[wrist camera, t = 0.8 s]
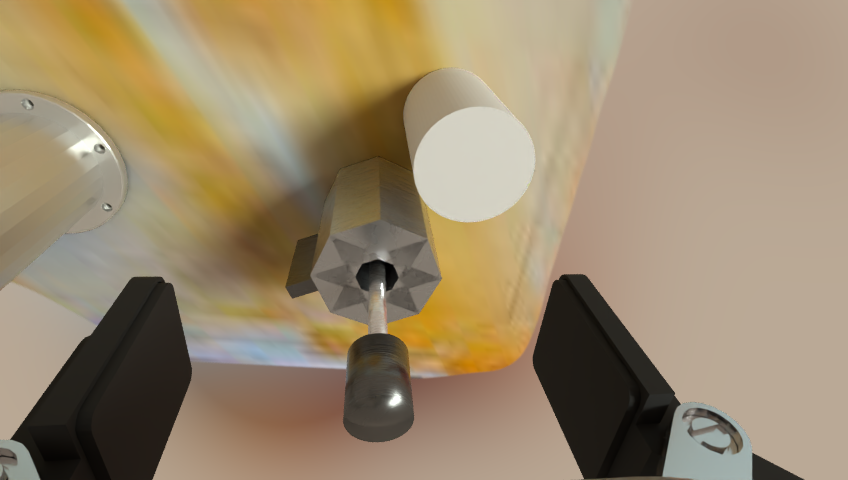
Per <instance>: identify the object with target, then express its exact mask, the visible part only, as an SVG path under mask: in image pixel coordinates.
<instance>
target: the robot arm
mask: <svg viewBox="0 0 848 480" xmlns="http://www.w3.org/2000/svg"><path fill="white" fill-rule="evenodd" d="M103 146H104V147H103ZM127 190H128V177H127V172H126V167H125V164H124V162H123V159H122V157H121V154H120V152H119V151H118V149H117V147H116V146H115V144H114V143H113V141H112V140H111V138H110V137H109V136H108V135H107V134H106V133H105V132H104V130H103V129H102V128H101V127H100V126H99V125H98V124H96V123H95V122H94V121H93V120H92V119H91V118H89V117H88V116H87V115H86V114H84V113H83V112H81V111H79V110H78V109H76V108H75V107H73V106H72V105H70V104H67V103H65V102H63V101H61V100H59V99H57V98H55V97H51V96H48V95H45V94H41V93H38V92H32V91H25V90H3V91H0V290H2V289H3V288H4V287H5V286H6V285H7V284H8V283H10V282H11V281H12V280H13V279H14V278H15V277H16V276H17V275H18V274H20V273H21V272H22V271H23V270H24V269H25V268H26V267H27V266H29V265H30V264H31V263H32V262H33V261H34V260H35V259H36V258H38V257H39V256H40V255H41V254H42V253H43V252H44V251H45V250H46V249H48V248H49V247H50V246H51V245H52V244H53V243H54V242H55V241H57V240H58V239H59V238H60V237H61V236H62V235H63V234H70V233H81V232H85V231H90V230H93V229H95V228H97V227H99V226H101V225H103V224H104V223H106V222H107V221H108V220H110V219H111V218H112V217H113V216H114V215H115V214H116V213H117V212H118V211H119V209H120V208H121V206H122V204H123V202H124V201H125V197H126V194H127ZM533 366H534V369H535V371H536V374H537V376H538V378H539V380H540V382H541V385H542V387H543V389H544V391H545V394H546V396H547V398H548V400H549V402H550V404H551V407H552V409H553V411H554V413H555V416H556V418H557V420H558V422H559V424H560V427H561V429H562V431H563V433H564V435H565V438H566V440H567V442H568V444H569V446H570V449H571V451H572V453H573V455H574V458H575V460H576V462H577V464H578V466H579V469H580V471H581V473H582V475H583V477H584V479H583V480H804V479H802V478H800V477H798V476H796V475H794V474H792V473H790V472H788V471H786V470H784V469H783V468H781V467H779V466H777V465H774V464H773V463H771V462H769V461H767V460H765V459H763V458H761V457H759V456H757V455H755V454H754V453H752V446H751V442H750V439H749V437H748V435H747V434H746V432H745V430H744V429H743V428H742V427H741V426H740V425H739V424H738V423H737V422H736V421H735V420H734V419H732V418H731V417H730V416H728V415H727V414H726V413H724V412H722V411H720V410H718V409H717V408H715V407H712V406H709V405H706V404H703V403H697V402H688V403H683V404H680V403H679V401H678V400H677V399H676V397H675V396H674V395H675V392H674V391H673V390H672V388H671V387H670V386H669V385H668V383H667V382H666V380H665V379H664V378H663V377H662V375H661V374H660V373H659V371H658V370H657V369H656V367H655V366H654V365H653V364H652V362H651V361H650V359H649V358H648V357H647V355H646V354H645V353H644V351H643V350H642V349H641V348H640V346H639V345H638V343H637V342H636V341H635V340H634V338H633V337H632V336H631V334H630V333H629V332H628V330H627V329H626V328H625V326H624V325H623V324H622V322H621V321H620V320H619V318H618V317H617V316H616V315H615V313H614V312H613V311H612V309H611V308H610V306H608V304H607V302H606V301H605V300H604V299H603V297H602V296H601V295H600V293H599V292H598V291H597V289H596V288H595V287H594V285H593V284H592V283H591V281H590V280H589V279H588V277H587V276H585V275H583V274H570V275H569V274H568V275H567V274H566V275H565V274H564V275H562V276H561V277H560V278H559V280H555V281H554V282H553V285H552V288H551V292H550V296H549V299H548V303H547V306H546V310H545V314H544V317H543V321H542V325H541V328H540V332H539V336H538V339H537V343H536V346H535V350H534V354H533ZM191 374H192V368H191V362H190V358H189V354H188V349H187V345H186V340H185V336H184V332H183V327H182V323H181V319H180V314H179V310H178V305H177V301H176V297H175V292H174V288H173V285H172V284H171V283H165V281H164V279H163V278H162V277H133V278H131V280H130V281H129V282H128V283H127V285H126V286H125V288H124V289H123V291H122V292H121V293H120V295H119V296H118V298H117V299H116V300H115V302H114V303H113V305H112V306H111V308H110V309H109V310H108V312H107V313H106V315H105V316H104V317H103V319H102V320H101V322H100V323H99V325H98V326H97V327H96V329H95V330H94V332H93V333H92V334H91V335H90V336H88V337H86V338H84V339H83V340H82V341H81V342H80V344H79V345H78V346H77V348H76V349H75V351H74V352H73V353H72V355H71V356H70V358H69V359H68V360H67V362H66V363H65V364H64V366H63V367H62V369H61V370H60V371H59V373H58V374H57V375H56V377H55V378H54V380H53V381H52V382H51V384H50V385H49V387H48V388H47V389H46V391H45V392H44V393H43V395H42V396H41V398H40V399H39V400H38V402H37V403H36V405H35V406H34V407H33V409H32V410H31V412H30V413H29V414H28V416H27V417H26V418H25V420H24V421H23V423H22V424H21V425H20V427H19V428H18V430H17V431H16V432H15V434H14V435H13V437H12V438H11V439H10V440H0V480H152V479H153V477H154V474H155V471H156V469H157V466H158V464H159V461H160V459H161V456H162V454H163V451H164V448H165V445H166V443H167V441H168V437H169V436H170V433H171V430H172V428H173V425H174V423H175V420H176V417H177V415H178V412H179V410H180V407H181V405H182V402H183V399H184V397H185V394H186V392H187V389H188V386H189V384H190V381H191Z"/></svg>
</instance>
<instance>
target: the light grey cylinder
mask: <svg viewBox="0 0 848 480" xmlns="http://www.w3.org/2000/svg"><path fill="white" fill-rule="evenodd" d="M403 120H404V127H405V132H406V137H407V143H408V148H409V153H410V159H411V164H412V170H413V175H414V180H415V184H416V187H417V190H418V192H419V194H420V196H421V198H422V199H423V201H424V202H425V203H426V204H427V205H428V206H429V207H430V208H431V209H432V210H433V211H435V212H436V213H438V214H439V215H441V216H443V217H445V218H448V219H451V220H454V221H459V222H478V221H483V220H487V219H490V218H493V217H495V216H497V215H500V214H501V213H503V212H505V211H506V210H508V209H509V208H510V207H512V206H513V205H514V204H515V203H516V202H517V201H518V200H519V199H520V198H521V197H522V195H523V194H524V193H525V191H526V189H527V188H528V186H529V184H530V182H531V179H532V176H533V173H534V168H535V150H534V145H533V142H532V139H531V137H530V135H529V133H528V131H527V130H526V129H525V127H524V126H523V125H522V124H521V123H520V121H519V120H518V119H517V118H516V117H515V116H514V115H513V114H512V113H511V111H510V110H509V109H508V108H507V107H506V106H505V105H504V104H503V103H502V101H501V100H500V99H499V98H498V97H497V96H496V95H495V94H494V93H493V92H492V90H491V89H490V88H489V87H488V86H487V85H486V84H485V83H484V82H483V80H482V79H480V78H479V77H478V76H477V75H475V74H474V73H472V72H470V71H467V70H464V69H460V68H443V69H439V70H436V71H433V72H431V73H429V74H427V75H426V76H424V77H423V78H422V79H420V80H419V81H418V82H417V83H416V84H415V85H414V87H413V88H412V90H411V91H410V93H409V95H408V97H407V99H406V102H405V106H404V112H403Z"/></svg>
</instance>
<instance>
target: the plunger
mask: <svg viewBox="0 0 848 480" xmlns="http://www.w3.org/2000/svg"><path fill="white" fill-rule="evenodd" d="M413 421H414V413H413V401H412V389H411V378H410V367H409V355H408V349H407V347H406V345H405V344H404V342H403V341H401V340H400V339H399V338H397V337H395V336H393V335H390V334H387V309H386V283H385V261H382V260H380V259H376V260H373V261H370V262H369V318H368V335H365V336H363V337H361V338H359V339H357V340H356V341H355V342H354V343H353V344H352V345H351V347H350V348H349V351H348V356H347V372H346V387H345V404H344V418H343V423H344V427H345V428H346V430H347V431H348V432H349V433H350V434H351V435H352V436H354V437H356V438H357V439H360V440H363V441H368V442H385V441H390V440H393V439H395V438H398V437H400V436H402V435H403V434H404V433H406V432H407V431H408V430H409V429H410V427H411V426H412V424H413Z"/></svg>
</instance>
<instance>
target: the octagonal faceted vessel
mask: <svg viewBox="0 0 848 480" xmlns="http://www.w3.org/2000/svg"><path fill="white" fill-rule="evenodd" d="M376 259H380V260H382V261H385V283H386V309H387V323H389V322H393V321H396V320H399V319H403V318H406V317H409V316H413V315H416V314H419V313H420V311H421V310H422V308H423V307H424V305H425V304H426V302H427V301H428V299H429V298H430V296H431V294H432V293H433V291H434V290H435V288H436V287H437V285H438V284H439V282H440V281H441V279H442V277H441V272H440V268H439V263H438V258H437V254H436V249H435V245H434V240H433V235H432V231H431V226H430V221H429V217H428V212H427V207H426V204H425V202H424V201H423V199H422V198H421V196H420V194H419V192H418V190H417V187H416V184H415V180H414V175H413V172H412V171H410V170H407V169H405V168H403V167H401V166H399V165H397V164H394V163H392V162H390V161H388V160H386V159H383V158H381V157H379V156H378V157H375V158H372V159H369V160H366V161H363V162H360V163H357V164H354V165H351V166H347V167H344V168H341V169H340V170H339V173H338V175H337V177H336V179H335V181H334V183H333V185H332V188H331V190H330V192H329V194H328V196H327V198H326V200H325V203H324V208H323V213H322V218H321V223H320V228H319V233H318V234H316V235H313V236H310V237H307V238H304V239H301V240H298V242H297V246H296V249H295V253H294V257H293V261H292V264H291V268H290V272H289V276H288V279H287V283H286V289H287V291H288V292H289V294H290V296H291V297H292V298H295V297H299V296H302V295H305V294H309V293H312V292H315V291H319V293H320V294H321V296H322V298H323V300H324V302H325V304H326V305H327V307H328V309H329V311H330V312H331V313H334V314H337V315H340V316H343V317H346V318H349V319H352V320H355V321H358V322H361V323H364V324H367V325H368V318H369V262H370V261H373V260H376Z"/></svg>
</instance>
